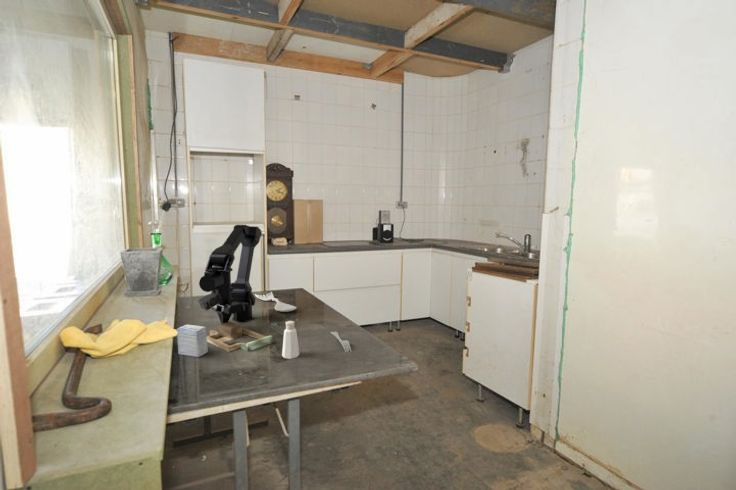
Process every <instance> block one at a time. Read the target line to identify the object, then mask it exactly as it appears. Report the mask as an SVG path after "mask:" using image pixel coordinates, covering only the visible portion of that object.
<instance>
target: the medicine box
mask: <svg viewBox="0 0 736 490" xmlns="http://www.w3.org/2000/svg"><path fill="white" fill-rule="evenodd" d="M177 332H178V333H177ZM176 334H177V335H176V337H177V350H178V351H177V352H178V355H183V356H188V357H194V358H195V357H196V358H200V357H202V356H204V355H205V354H207V353H208V342H207V336H208V335H207V327H206V326H202V325H196V324H194V325H193V324H184V325H183V326H180V327H178V328H176Z"/></svg>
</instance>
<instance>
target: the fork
mask: <svg viewBox="0 0 736 490" xmlns="http://www.w3.org/2000/svg"><path fill="white" fill-rule="evenodd" d="M330 334H332V335H333V336H334V337H335V338H336V339H337V340H338V341H339V343H340V344H341V345H342V347H343V350H344V352H345V353H349V351H350V352H352V349H351V344H350V342H349V340H342V339H341V337H340V335H339V332H338V331H330Z"/></svg>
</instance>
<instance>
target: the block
mask: <svg viewBox="0 0 736 490" xmlns="http://www.w3.org/2000/svg"><path fill="white" fill-rule="evenodd" d="M242 327H243V326H242V325H241V324H239V323H236V322H232V321H228V322H226V323H223V324H221V323H219V325H218V329H219V331H218V332H219V333H220V337H222V338H223V337H226V336H228V337H231V338H233V339H234V340H235V339H237V338H240V337H242V336H243V333H242Z"/></svg>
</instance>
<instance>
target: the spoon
mask: <svg viewBox="0 0 736 490" xmlns="http://www.w3.org/2000/svg"><path fill="white" fill-rule="evenodd" d="M254 297H255V298H256V299H257V298H258V299H259V300H262V301H265V302H270V301H273V302H275V303H276V304H275V306H274V309H275V311H276V312H280V313H281V312H282V313H289V312H292V311H295V310H297V306H295V305H292V304H289V303H285V302H282V301H280V300H279V298H276V297H275V296H274V294H273V292H272V291H270V292H268V293H266V294H262V295H261V294H260V295H259V294H256V293H254Z"/></svg>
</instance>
